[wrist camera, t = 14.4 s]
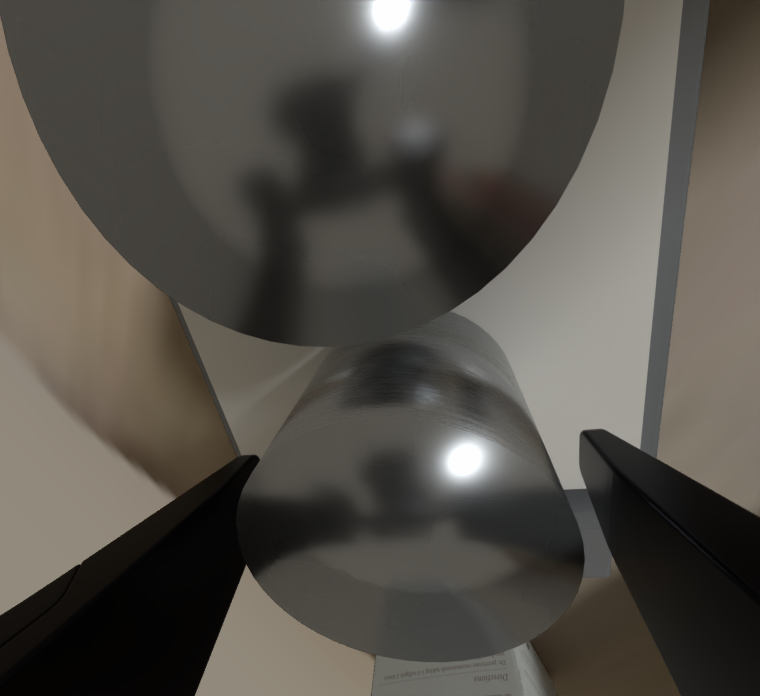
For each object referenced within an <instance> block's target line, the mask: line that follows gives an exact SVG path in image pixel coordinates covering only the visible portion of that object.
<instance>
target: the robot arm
mask: <svg viewBox="0 0 760 696" xmlns="http://www.w3.org/2000/svg"><path fill="white" fill-rule="evenodd" d="M259 461H260V458H259V457H258V456H257V455H254V454H253V455H241V456H239V457H237V458H236V459H234V460H233V461H231V462H230V463H228V464H227V465H225V466H224V467H222V468H221V469H219V470H218V471H216V472H215V473H213V474H212V475H210V476H209V477H207V478H206V479H204V480H203V481H201V482H200V483H199V484H197V485H196V486H194V487H193V488H191V489H190V490H188V491H187V492H185V493H184V494H182V495H181V496H179V497H178V498H176V499H175V500H173V501H172V502H170V503H169V504H167V505H166V506H164V507H163V508H161V509H160V510H158V511H157V512H156V513H154V514H153V515H151V516H150V517H148V518H147V519H145V520H144V521H142V522H141V523H139V524H138V525H136V526H135V527H133V528H132V529H130V530H129V531H127V532H126V533H124V534H123V535H121V536H120V537H118V538H117V539H116V540H114V541H112V542H111V543H110V544H108V545H107V546H105V547H104V548H102V549H101V550H99V551H98V552H96V553H95V554H93V555H92V556H90V557H89V558H87V559H86V560H84V561H83V562H82V564H81V565H77V566H75V567H74V568H72V569H71V570H69V571H68V572H66V573H65V574H63V575H62V576H60V577H59V578H57V579H56V580H54V581H53V582H51V583H50V584H48V585H47V586H45V587H44V588H42V589H41V590H39V591H38V592H36V593H35V594H33V595H32V596H30V597H29V598H27V599H25V600H24V601H23V602H21V603H19V604H18V605H16V606H15V607H13V608H11V609H10V610H8V611H7V612H5V613H4V614H2V615H0V696H195V694H196V691H197V689H198V686H199V684H200V681H201V678H202V676H203V674H204V671H205V668H206V666H207V663H208V661H209V658H210V656H211V653H212V651H213V648H214V645H215V643H216V640H217V638H218V635H219V633H220V630H221V627H222V625H223V622H224V620H225V617H226V615H227V612H228V610H229V607H230V604H231V602H232V599H233V597H234V594H235V592H236V589H237V587H238V584H239V582H240V579H241V576H242V574H243V571H244V569H245V566H246V562H245V560H244V557H243V555H242V552H241V550H240V546H239V542H238V537H237V529H236V515H237V507H238V502H239V499H240V496H241V493H242V490H243V488H244V486H245V484H246V482H247V481H248V479H249V477H250V475H251V474H252V472H253V470H254V469H255V467H256V466H257V464H258V463H259ZM579 467H580V471H581V475H582V477H583V480H584V483H585V486H586V488H587V491H588V494H589V497H590V499H591V502H592V505H593V508H594V510H595V513H596V516H597V519H598V521H599V524H600V527H601V529H602V532H603V535H604V537H605V540H606V543H607V545H608V548H609V550H610V552H611V554H612V556H613V558H614V561H615V563H616V565H617V567H618V569H619V571H620V573H621V575H622V577H623V579H624V581H625V583H626V585H627V587H628V589H629V591H630V593H631V595H632V597H633V599H634V601H635V603H636V605H637V607H638V609H639V611H640V613H641V615H642V617H643V619H644V621H645V623H646V625H647V627H648V629H649V631H650V633H651V635H652V637H653V639H654V641H655V643H656V645H657V647H658V650H659V652H660V654H661V656H662V658H663V660H664V662H665V664H666V666H667V668H668V670H669V672H670V674H671V676H672V678H673V680H674V682H675V684H676V686H677V688H678V690H679V692H680V694H681V696H760V517H758V516H757V515H755V514H753V513H751V512H750V511H748V510H746V509H744V508H743V507H741V506H739V505H737V504H736V503H734V502H732V501H730V500H728V499H727V498H725V497H723V496H721V495H720V494H718V493H716V492H714V491H713V490H711V489H709V488H707V487H706V486H704V485H702V484H700V483H698V482H697V481H695V480H693V479H691V478H690V477H688V476H686V475H684V474H683V473H681V472H679V471H677V470H675V469H674V468H672V467H670V466H668V465H667V464H665V463H663V462H661V461H660V460H658V459H656V458H654V457H653V456H651V455H649V454H647V453H645V452H644V451H642V450H640V449H638V448H637V447H635V446H633V445H631V444H630V443H628V442H626V441H624V440H623V439H621V438H619V437H617V436H615V435H614V434H612V433H610V432H608V431H607V430H604V429H588V430H583V431H581V433H580V436H579Z"/></svg>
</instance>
